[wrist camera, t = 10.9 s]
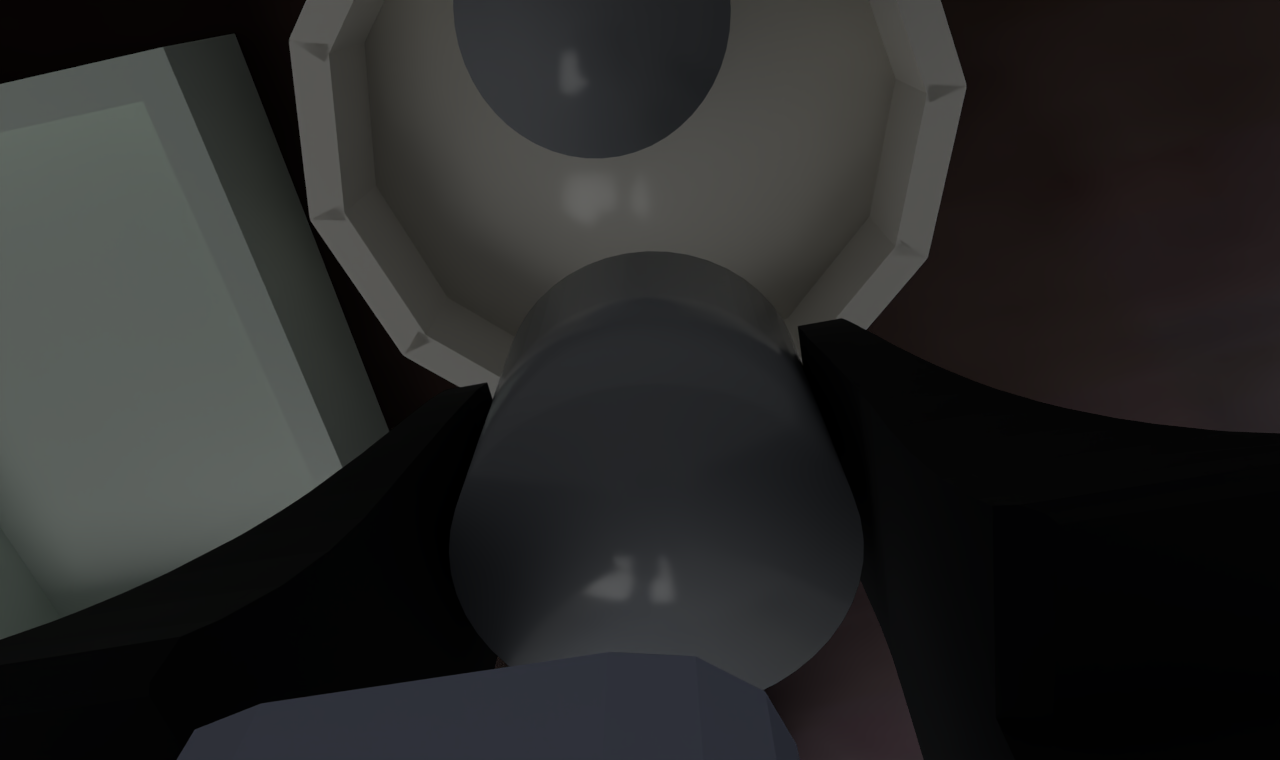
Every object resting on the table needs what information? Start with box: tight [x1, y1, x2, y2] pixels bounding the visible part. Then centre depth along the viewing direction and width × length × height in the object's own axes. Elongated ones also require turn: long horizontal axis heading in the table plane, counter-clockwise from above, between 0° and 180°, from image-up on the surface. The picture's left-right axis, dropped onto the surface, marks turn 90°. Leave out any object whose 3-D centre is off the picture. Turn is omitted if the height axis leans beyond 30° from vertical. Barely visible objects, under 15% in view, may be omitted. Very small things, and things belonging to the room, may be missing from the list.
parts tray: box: [0, 33, 389, 640], centre depth 20 cm, size 15×12×3 cm
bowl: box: [289, 0, 967, 399], centre depth 17 cm, size 12×12×3 cm
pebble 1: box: [453, 0, 731, 158], centre depth 15 cm, size 4×4×4 cm
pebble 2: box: [449, 251, 864, 690], centre depth 11 cm, size 4×4×4 cm
